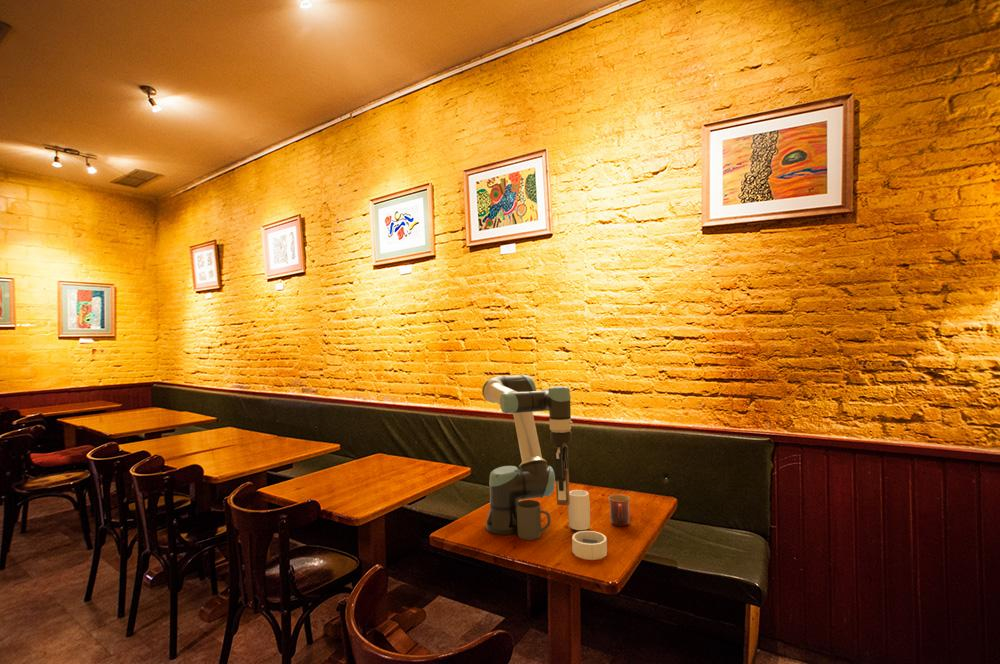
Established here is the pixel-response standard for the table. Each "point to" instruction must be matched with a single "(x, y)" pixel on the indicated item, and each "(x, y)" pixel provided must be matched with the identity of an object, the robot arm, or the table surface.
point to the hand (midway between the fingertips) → (563, 498)
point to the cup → (579, 510)
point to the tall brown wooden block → (567, 501)
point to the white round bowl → (589, 545)
